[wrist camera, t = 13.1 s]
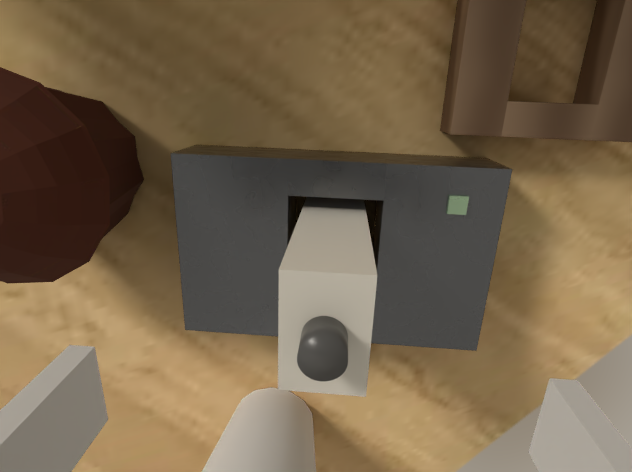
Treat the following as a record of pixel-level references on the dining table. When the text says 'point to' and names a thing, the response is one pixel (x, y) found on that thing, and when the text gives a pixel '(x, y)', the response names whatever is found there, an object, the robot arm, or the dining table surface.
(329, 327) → the plug
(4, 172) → the muffin
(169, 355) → the dining table surface
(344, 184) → the switch box
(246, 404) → the foam cup
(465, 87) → the brown wooden square frame
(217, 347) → the dining table surface
